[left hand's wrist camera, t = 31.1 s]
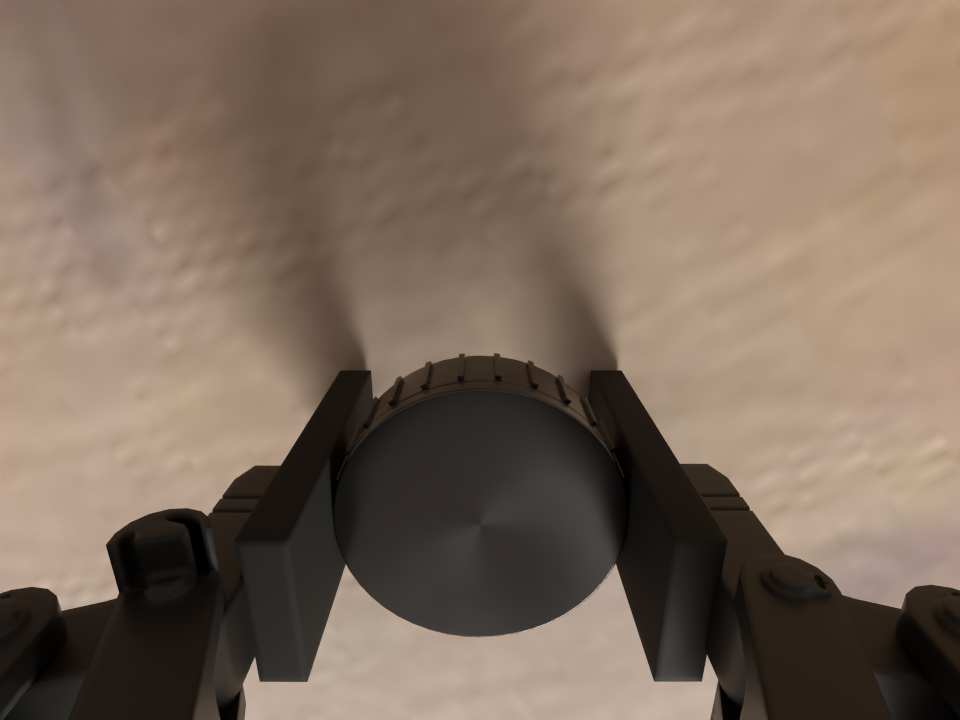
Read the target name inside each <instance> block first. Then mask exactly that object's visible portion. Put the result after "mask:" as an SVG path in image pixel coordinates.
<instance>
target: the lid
mask: <svg viewBox="0 0 960 720" xmlns="http://www.w3.org/2000/svg"><path fill="white" fill-rule="evenodd" d="M615 452H616V449H615V447H614V444H613V442H612V440H611V438H610V436H609V433H608V431H607V429H606V427H605V424H604V422H603V420H600V421H598V420H597V418H596V416H595V415H594V413H593V411H592V409H591V406H590V404H589V402H588V399H587V398H586V397H585V395H583V396H582V397H580V396H579V395H578V393H577V392H575V391H574V390H573V389H572V388H571V387H569V386H568V385H567V384H566V383H565V381H564V379H563V377H562V376H560V375H558V376H557V377H555V376H554V375H552V374H551V373H549V372H547V371H545V370H542V369H540V368H538V367H536V366H534V364H533V362H532V361H528V362H527V363H524V362H521V361H518V360H514V359H508V358H502V357H500V354H496V353H494V356H468V357H465V354H459V358H453V359H448V360H443V361H440V362H437V363H434V364H432V363H431V361H430V362H427V363H426V365H425V367H423V368H421V369H419V370H417V371H415V372H413V373H411V374H409V375H408V376H406V377H404V378H403V379H402V377H401V376H400V377H398V378H397V379H396V381H395V384H394V385H393V386H392V387H391V388H390V389H388V390H387V391H386V392H385V393H384V394H383V395H382V396H381V397H380V398H379V399H378V398H377V397H375V398H374V399H373V401H372V403H371V405H370V408H369V410H368V413H367V415H366V417H365V418H364V420H363V422H362V423H360V422H358V423H357V425H356V427H355V429H354V432H353V434H352V436H351V439H350V441H349V443H348V445H347V448H346V450H345V452H344V454H346V457H345V459H344V461H343V464H342V466H341V468H340V471H339V473H338V475H337V477H336V484H337V486H336V489H335V494H334V503H333V523H334V530H335V535H336V540H337V543H338V546H339V549H340V552H341V554H342V557H343V559H344V561H345V563H346V565H347V566H348V568H349V570H350V572H351V573H352V575H353V576H354V577H355V579H356V580H357V581H358V583H359V584H360V585H361V586H362V587H363V588H364V590H365V591H366V592H367V593H368V594H369V595H370V596H371V597H372V598H374V599H375V600H376V601H377V602H378V603H380V604H381V605H382V606H383V607H385V608H386V609H388V610H389V611H391V612H392V613H394V614H396V615H397V616H399V617H401V618H403V619H405V620H407V621H409V622H411V623H413V624H416V625H418V626H421V627H424V628H427V629H429V630H433V631H437V632H441V633H445V634H451V635H458V636H465V637H494V636H504V635H510V634H516V633H520V632H524V631H528V630H532V629H535V628H537V627H540V626H543V625H545V624H548V623H550V622H552V621H554V620H556V619H558V618H560V617H562V616H564V615H566V614H567V613H569V612H570V611H572V610H573V609H575V608H576V607H578V606H579V605H581V604H582V603H583V602H584V601H585V600H586V599H588V598H589V597H590V596H591V595H592V594H593V593H594V592H595V591H596V590H597V589H598V588H599V587H600V585H601V584H602V583H603V582H604V581H605V579H606V578H607V576H608V575H609V574H610V572H611V571H612V569H613V567H614V565H615V563H616V561H617V559H618V558H619V556H620V553H621V550H622V547H623V544H624V541H625V538H626V532H627V527H628V512H629V505H628V498H627V491H626V487H625V484H624V482H625V481H626V478H625V475H624V473H623V470H622V468H621V466H620V464H619V461H618V459H617V457H616V454H615Z"/></svg>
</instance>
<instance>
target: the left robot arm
mask: <svg viewBox="0 0 960 720" xmlns="http://www.w3.org/2000/svg"><path fill="white" fill-rule="evenodd" d="M372 401H373V394H372V380H371V371H340V372H339V374H338V376H337V377H336V379H335V380H334V382H333V384H332V385H331V387H330V388H329V390H328V392H327V393H326V395H325V396H324V398H323V399H322V401H321V403H320V404H319V406H318V407H317V409H316V411H315V412H314V414H313V415H312V417H311V419H310V420H309V422H308V423H307V425H306V427H305V428H304V430H303V431H302V433H301V435H300V436H299V438H298V439H297V441H296V443H295V444H294V446H293V447H292V449H291V451H290V452H289V454H288V455H287V457H286V458H285V460H284V462H283V463H282V465H281V466H254V467H252V468H251V469H250V470H248V471H247V472H245V473H244V474H242V475H241V476H239V477H238V478H236V479H235V480H234V481H233V483H232V484H231V485H230V487H229V488H228V489H227V491H226V492H225V493H224V495H223V499H220V500H219V501H218V503H217V504H216V506H215V507H214V508H213V512H212V513H210V514H209V515H208V516H206V515H205V514H204V513H203V512H201V511H197V510H193V509H188V508H184V509H168V510H164V511H160V512H156V513H152V514H149V515H146V516H144V517H142V518H140V519H137V520H135V521H133V522H131V523H129V524H128V525H126V526H125V527H123V528H122V529H121V530H119V531H118V532H116V533H115V534H114V536H113V537H112V538H111V539H110V541H109V542H108V543H107V544H106V547H107V551H108V554H109V558H110V561H111V565H112V568H113V572H114V576H115V579H116V583H117V586H118V590H119V595H118V597H117V598H116V599H113V600H109V601H105V602H101V603H96V604H92V605H87V606H83V607H78V608H74V609H69V610H65V611H61V608H60V605H59V602H58V599H57V596H56V595H55V594H53V593H52V592H51V591H50V590H48V589H44V588H36V587H29V588H22V589H15V590H10V591H7V592H4V593H1V594H0V720H244V718H245V708H246V702H245V695H244V689H243V682H244V680H245V678H246V675H247V673H248V671H249V669H250V666H251V664H252V662H253V660H254V657H255V658H256V663H257V669H258V674H259V680H260V682H307V681H308V678H309V675H310V672H311V669H312V666H313V663H314V660H315V656H316V653H317V650H318V647H319V644H320V641H321V638H322V635H323V632H324V629H325V626H326V623H327V620H328V617H329V614H330V610H331V607H332V604H333V601H334V598H335V595H336V592H337V589H338V586H339V583H340V580H341V577H342V574H343V571H344V567H345V564H346V563H345V561H344V559H343V557H342V554H341V552H340V549H339V546H338V543H337V540H336V535H335V530H334V523H333V503H334V494H335V489H336V486H337V484H336V477H337V475H338V473H339V471H340V468H341V466H342V464H343V461H344V459H345V457H346V454H344V452H345V450H346V448H347V445H348V443H349V441H350V439H351V436H352V434H353V432H354V429H355V427H356V425H357V423H358V422H360V423H362V422H363V420H364V418H365V417H366V415H367V413H368V410H369V408H370V405H371V403H372ZM589 404H590V406H591V409H592V411H593V413H594V415H595V416H596V418H597V420H598V421H600V420H603V422H604V424H605V427H606V429H607V431H608V433H609V436H610V438H611V440H612V442H613V444H614V447H615V449H616V452H615V454H616V457H617V459H618V461H619V464H620V466H621V468H622V470H623V473H624V475H625V478H626V481H625V482H624V484H625V487H626V491H627V498H628V505H629V512H628V527H627V532H626V538H625V541H624V544H623V547H622V550H621V553H620V556H619V558H618V559H617V561H616V565H617V568H618V571H619V574H620V578H621V581H622V584H623V587H624V590H625V593H626V596H627V599H628V602H629V605H630V608H631V611H632V614H633V618H634V621H635V624H636V627H637V630H638V633H639V636H640V639H641V642H642V645H643V648H644V651H645V654H646V658H647V661H648V664H649V667H650V670H651V673H652V676H653V679H654V681H702V677H703V672H704V667H705V661H706V656H707V655H708V657H709V660H710V662H711V664H712V666H713V669H714V671H715V673H716V675H717V678H718V684H717V689H716V694H715V699H714V704H713V709H712V714H711V719H710V720H960V590H956V589H953V588H948V587H942V586H935V585H926V586H918V587H914V588H913V589H912V590H910V591H909V592H908V593H907V594H906V596H905V599H904V602H903V605H902V608H901V609H898V608H894V607H889V606H885V605H880V604H876V603H871V602H867V601H862V600H858V599H854V598H850V597H847V596H843V595H842V594H841V592H840V590H839V589H838V587H837V586H836V585H835V583H834V582H833V580H832V579H831V578H830V577H828V576H827V575H826V574H825V573H823V572H822V571H821V570H820V569H818V568H817V567H815V566H813V565H811V564H809V563H807V562H805V561H803V560H801V559H798V558H795V557H791V556H787V555H785V554H784V553H783V552H782V550H781V549H780V548H779V546H778V545H777V544H776V542H775V541H774V540H773V538H772V537H771V536H770V534H769V533H768V532H767V530H766V529H765V528H764V526H763V525H762V523H761V522H760V521H759V519H758V518H757V517H756V515H755V514H754V513H753V511H750V509H749V508H750V507H749V506H748V505H747V503H746V502H745V501H744V499H743V498H742V497H740V494H739V493H738V491H737V490H736V489H735V487H734V486H733V484H732V483H731V482H730V480H729V479H728V478H727V477H726V476H724V475H723V474H721V473H720V472H718V471H717V470H715V469H714V468H712V467H711V466H709V465H708V464H680V463H679V462H678V460H677V459H676V457H675V455H674V454H673V452H672V451H671V449H670V447H669V446H668V444H667V443H666V441H665V440H664V438H663V436H662V435H661V433H660V432H659V430H658V428H657V427H656V425H655V424H654V422H653V420H652V419H651V417H650V416H649V414H648V412H647V411H646V409H645V408H644V406H643V404H642V403H641V401H640V400H639V398H638V396H637V395H636V393H635V392H634V390H633V388H632V387H631V385H630V384H629V382H628V380H627V379H626V377H625V376H624V374H623V372H622V371H591V379H590V392H589Z"/></svg>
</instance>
